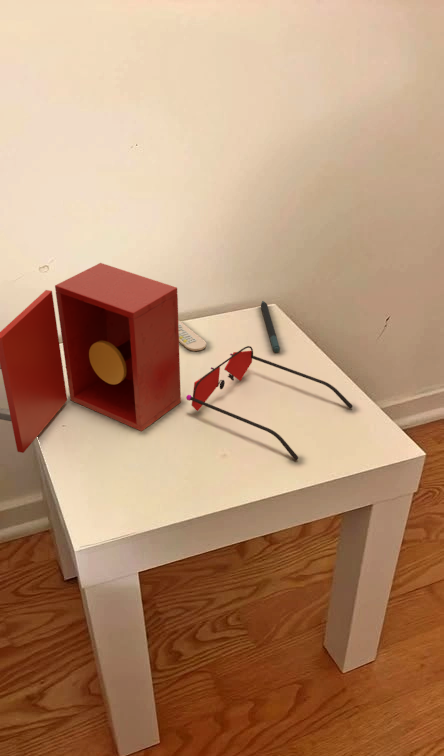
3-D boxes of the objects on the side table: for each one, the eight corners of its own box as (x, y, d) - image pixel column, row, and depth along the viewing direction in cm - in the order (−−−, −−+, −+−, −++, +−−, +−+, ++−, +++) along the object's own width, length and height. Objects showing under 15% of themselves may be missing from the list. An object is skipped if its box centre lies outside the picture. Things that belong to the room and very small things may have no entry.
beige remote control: (156, 319, 117) (173, 314, 118) (156, 322, 117) (173, 318, 119) (192, 348, 110) (210, 343, 111) (192, 352, 111) (210, 347, 112)
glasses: (246, 369, 107) (247, 336, 104) (352, 408, 100) (357, 375, 97) (184, 415, 99) (184, 381, 95) (296, 462, 91) (299, 427, 88)
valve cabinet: (141, 431, 96) (133, 313, 86) (70, 400, 101) (54, 285, 91) (181, 402, 101) (177, 287, 91) (111, 374, 106) (100, 262, 96)
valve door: (-16, 445, 92) (-42, 330, 83) (31, 393, 101) (12, 284, 92) (23, 453, 91) (1, 337, 82) (67, 400, 100) (52, 290, 91)
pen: (265, 304, 123) (266, 297, 122) (280, 354, 111) (280, 346, 110) (259, 304, 123) (259, 297, 122) (272, 354, 111) (273, 346, 110)
